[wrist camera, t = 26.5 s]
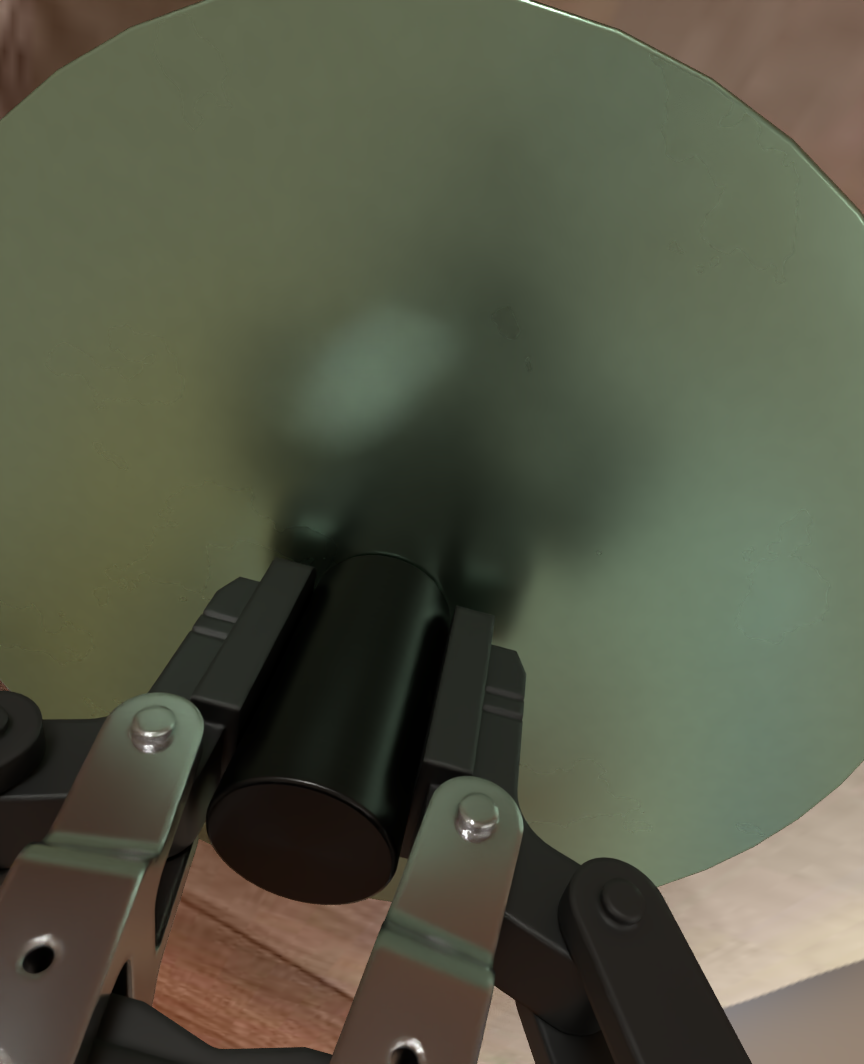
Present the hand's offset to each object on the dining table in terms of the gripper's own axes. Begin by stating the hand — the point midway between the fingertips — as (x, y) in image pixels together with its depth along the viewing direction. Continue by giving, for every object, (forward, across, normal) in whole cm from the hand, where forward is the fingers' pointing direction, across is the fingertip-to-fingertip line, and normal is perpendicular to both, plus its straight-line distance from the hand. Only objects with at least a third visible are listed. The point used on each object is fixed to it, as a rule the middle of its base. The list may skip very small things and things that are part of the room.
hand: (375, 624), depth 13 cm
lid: (+1, 0, 0) cm, 1 cm away
